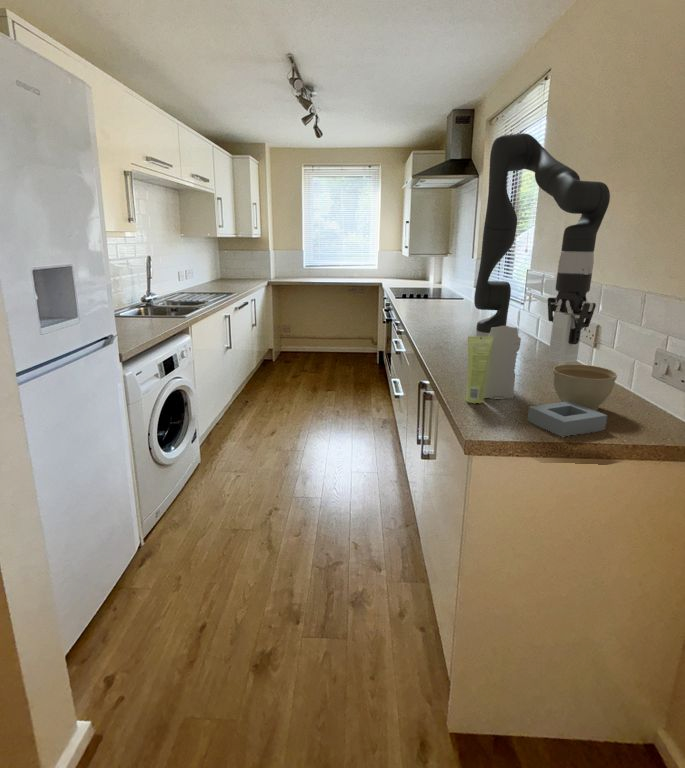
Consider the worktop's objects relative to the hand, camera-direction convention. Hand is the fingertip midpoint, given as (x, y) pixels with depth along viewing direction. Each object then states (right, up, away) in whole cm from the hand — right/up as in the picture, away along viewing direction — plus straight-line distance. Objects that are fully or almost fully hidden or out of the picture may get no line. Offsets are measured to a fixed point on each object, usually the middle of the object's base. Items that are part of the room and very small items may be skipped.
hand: (565, 341), depth 121 cm
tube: (-16, -16, +24) cm, 33 cm away
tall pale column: (-8, -15, +27) cm, 32 cm away
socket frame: (+2, -21, +5) cm, 22 cm away
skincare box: (0, -5, +1) cm, 5 cm away
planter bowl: (+13, -17, +20) cm, 29 cm away
